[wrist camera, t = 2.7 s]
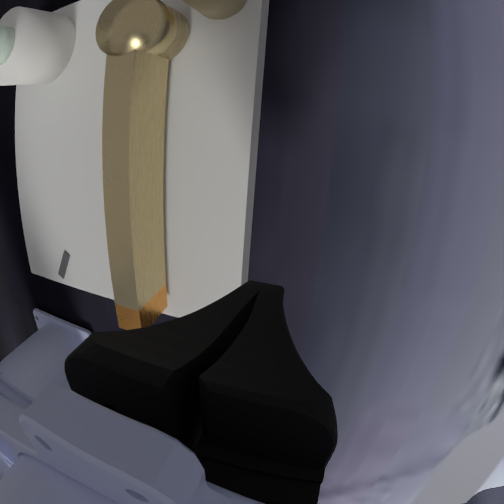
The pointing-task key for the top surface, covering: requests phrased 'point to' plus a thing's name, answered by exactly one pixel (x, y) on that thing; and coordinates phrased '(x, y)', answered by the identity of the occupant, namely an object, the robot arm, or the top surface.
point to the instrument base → (175, 145)
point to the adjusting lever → (136, 149)
